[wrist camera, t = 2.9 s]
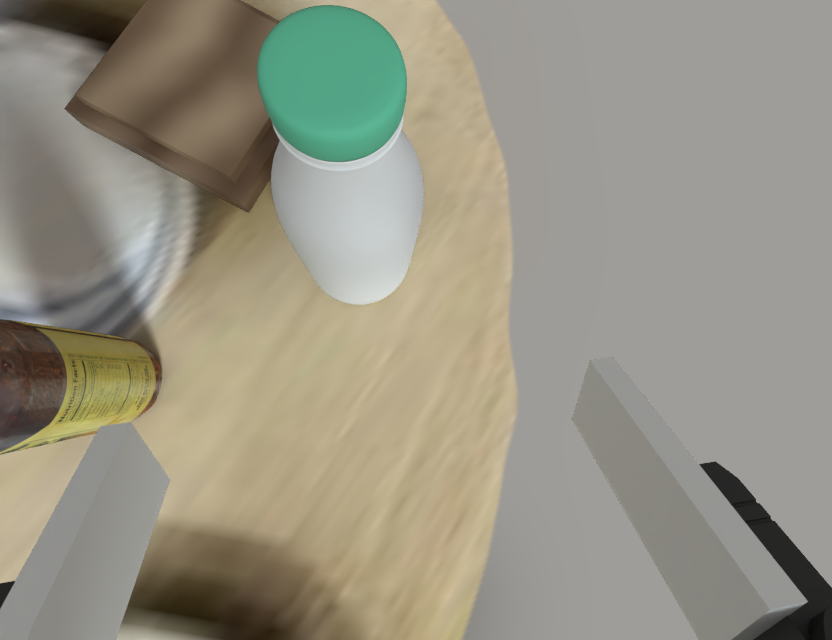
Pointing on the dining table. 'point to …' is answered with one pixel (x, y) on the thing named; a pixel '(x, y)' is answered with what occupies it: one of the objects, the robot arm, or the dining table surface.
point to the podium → (188, 95)
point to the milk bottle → (342, 150)
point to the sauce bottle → (69, 383)
